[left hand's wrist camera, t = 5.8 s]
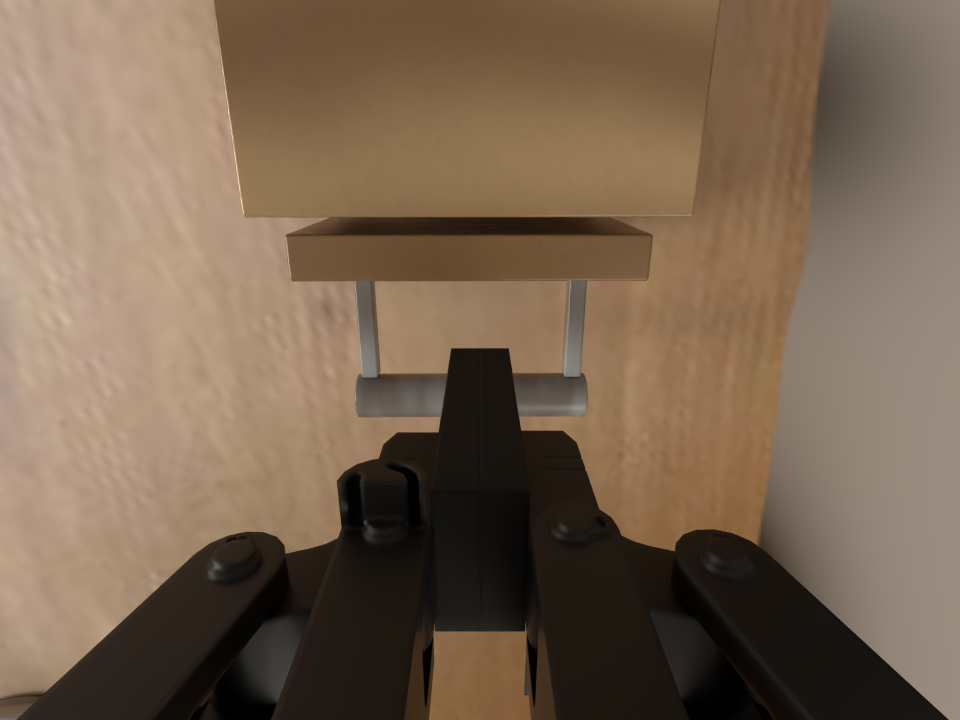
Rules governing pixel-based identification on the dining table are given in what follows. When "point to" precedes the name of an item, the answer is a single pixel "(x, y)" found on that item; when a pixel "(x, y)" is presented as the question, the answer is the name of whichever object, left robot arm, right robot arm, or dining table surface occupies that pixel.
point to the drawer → (468, 257)
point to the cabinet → (467, 106)
